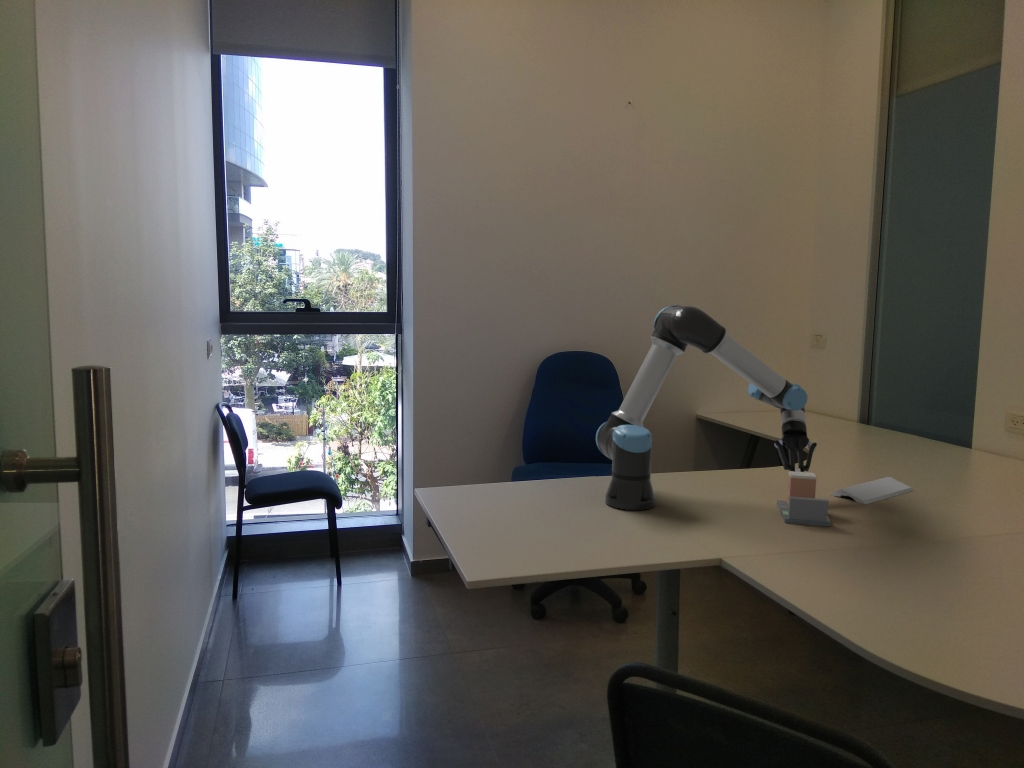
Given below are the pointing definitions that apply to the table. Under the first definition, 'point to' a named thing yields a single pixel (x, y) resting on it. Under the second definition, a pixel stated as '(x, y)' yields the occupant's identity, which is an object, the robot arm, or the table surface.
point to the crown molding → (874, 490)
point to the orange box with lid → (801, 485)
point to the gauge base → (805, 511)
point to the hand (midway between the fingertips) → (798, 488)
